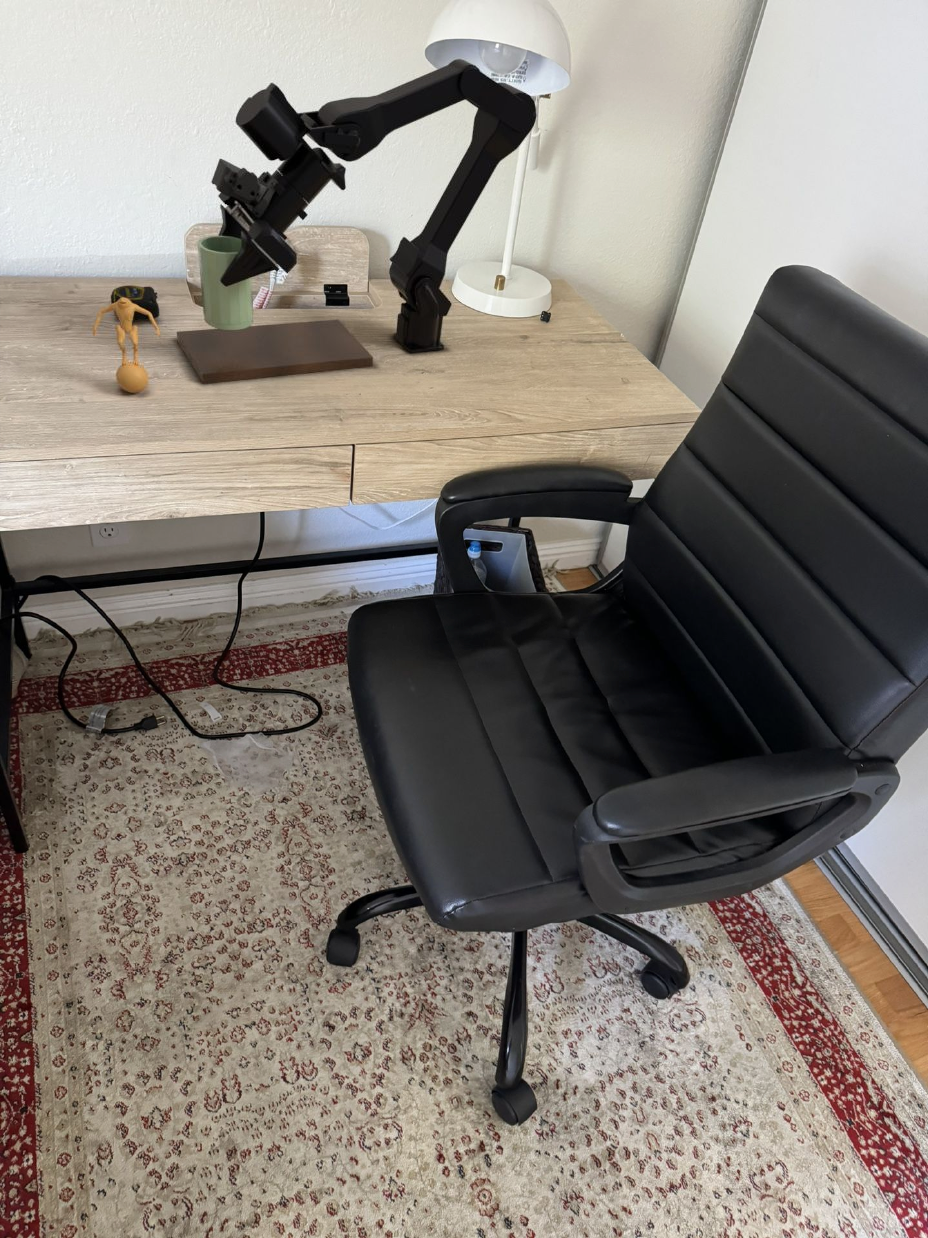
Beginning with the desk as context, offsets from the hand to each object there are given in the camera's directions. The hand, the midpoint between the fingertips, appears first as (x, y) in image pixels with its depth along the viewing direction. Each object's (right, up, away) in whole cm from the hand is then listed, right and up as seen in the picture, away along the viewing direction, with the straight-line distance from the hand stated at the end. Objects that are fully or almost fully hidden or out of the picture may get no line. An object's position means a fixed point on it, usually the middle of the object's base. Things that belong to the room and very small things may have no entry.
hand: (216, 273), depth 111 cm
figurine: (-11, -16, -1) cm, 19 cm away
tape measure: (-16, 0, +15) cm, 23 cm away
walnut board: (+6, -7, +12) cm, 15 cm away
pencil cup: (0, -5, +5) cm, 7 cm away
